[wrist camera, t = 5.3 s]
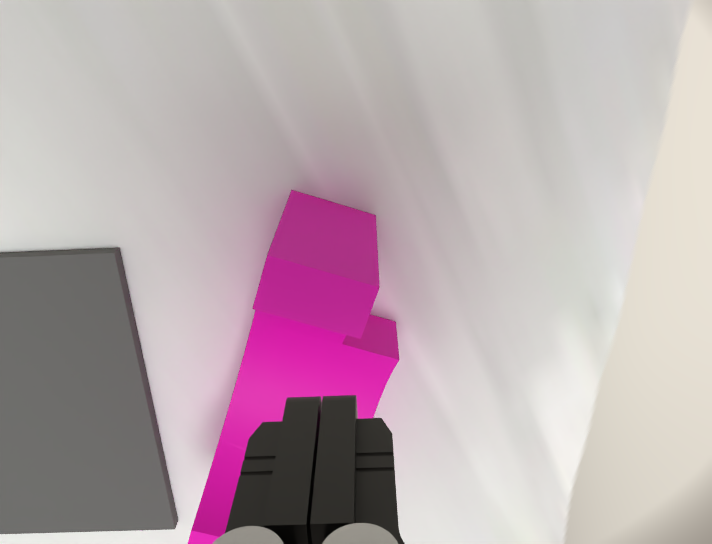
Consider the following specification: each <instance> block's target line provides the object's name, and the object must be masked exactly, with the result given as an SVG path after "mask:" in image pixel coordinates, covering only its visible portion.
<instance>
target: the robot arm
mask: <svg viewBox="0 0 712 544" xmlns="http://www.w3.org/2000/svg"><path fill="white" fill-rule="evenodd" d="M240 473H241V474H240V476H239V479H238V483H237V487H236V491H235V495H234V499H233V503H232V507H231V511H230V515H229V519H228V523H227V527H226V531H225V534H223V535H222V536H220V537H219V538H218V539H217V540H215V541H214V542H213V543H212V544H404V542H403V540H402V539H401V536H400V533H399V528H398V515H397V500H396V485H395V471H394V456H393V440H392V433H391V431H390V430H389V428H388V427H387V426H386V424H385V423H384V421H383V420H382V418H364V419H358V412H357V397H356V395H340V396H323V399H322V400H321V396H315V397H287V399H286V403H285V409H284V414H283V419H282V421H277V422H262V423H261V425H260V426H259V427H258V428H257V429H256V430H255V432H254V433H253V434H252V435H251V436H250V438H249V440H248V444H247V448H246V452H245V456H244V460H243V464H242V468H241V471H240Z"/></svg>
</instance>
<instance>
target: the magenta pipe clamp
mask: <svg viewBox="0 0 712 544" xmlns="http://www.w3.org/2000/svg"><path fill="white" fill-rule="evenodd" d="M378 290H379V269H378V250H377V231H376V215H373V214H370V213H367V212H363V211H360V210H357V209H353V208H350V207H347V206H343V205H340V204H337V203H334V202H330V201H327V200H324V199H320V198H317V197H314V196H310V195H307V194H304V193H300V192H297V191H294V190H292V191H291V193H290V196H289V199H288V201H287V204H286V207H285V209H284V212H283V215H282V217H281V220H280V223H279V225H278V228H277V231H276V233H275V236H274V239H273V241H272V244H271V247H270V249H269V252H268V255H267V258H266V262H265V265H264V269H263V273H262V276H261V280H260V284H259V287H258V291H257V294H256V298H255V302H254V305H253V309H255V314H254V318H253V322H252V326H251V330H250V334H249V338H248V341H247V345H246V349H245V352H244V356H243V360H242V363H241V367H240V370H239V374H238V378H237V381H236V385H235V388H234V391H233V395H232V398H231V402H230V405H229V409H228V412H227V416H226V419H225V422H224V426H223V429H222V432H221V436H220V439H219V443H218V446H217V449H216V453H215V456H214V459H213V462H212V466H211V469H210V472H209V476H208V479H207V482H206V485H205V489H204V492H203V495H202V498H201V502H200V505H199V508H198V511H197V514H196V518H195V521H194V524H193V527H192V530H191V534H190V537H189V541H188V544H212V543H213V542H214V541H215V540H217V539H218V538H219V537H220V536H222V535H223V534H225V531H226V527H227V523H228V519H229V515H230V511H231V507H232V503H233V499H234V495H235V491H236V487H237V483H238V479H239V476H240V474H241V473H240V471H241V468H242V464H243V460H244V456H245V452H246V448H247V444H248V440H249V438H250V436H251V435H252V434H253V433H254V432H255V430H256V429H257V428H258V427H259V426H260V425H261V423H262V422H277V421H282V419H283V414H284V409H285V403H286V399H287V397H315V396H321V400H322V399H323V396H340V395H356V397H357V412H358V419H364V418H373V416H374V413H375V411H376V408H377V405H378V403H379V400H380V398H381V395H382V393H383V390H384V388H385V386H386V383H387V381H388V379H389V377H390V375H391V373H392V371H393V370H394V368H395V366H396V364H397V363H398V361H399V352H398V341H397V331H396V322H395V321H391V320H388V319H384V318H381V317H377V316H374V315H370V312H371V309H372V307H373V304H374V301H375V298H376V296H377V293H378Z"/></svg>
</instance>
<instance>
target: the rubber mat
mask: <svg viewBox="0 0 712 544" xmlns="http://www.w3.org/2000/svg"><path fill="white" fill-rule="evenodd" d="M177 522H178V518H177V514H176V509H175V505H174V500H173V495H172V491H171V486H170V481H169V477H168V472H167V467H166V463H165V458H164V453H163V449H162V444H161V440H160V435H159V430H158V426H157V421H156V416H155V412H154V407H153V402H152V398H151V393H150V388H149V384H148V379H147V375H146V370H145V365H144V361H143V356H142V351H141V347H140V342H139V337H138V333H137V328H136V323H135V319H134V314H133V310H132V305H131V300H130V296H129V291H128V286H127V282H126V277H125V272H124V268H123V263H122V258H121V254H120V249H119V248H107V249H82V250H58V251H34V252H9V253H0V534H21V533H57V532H92V531H128V530H164V529H175V528H176V525H177Z"/></svg>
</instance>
